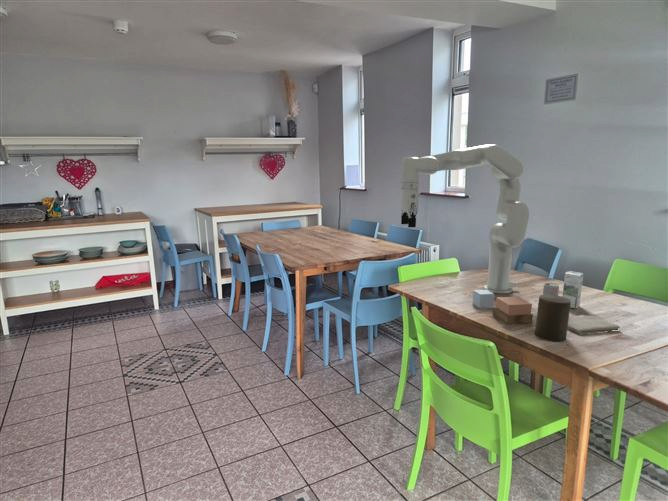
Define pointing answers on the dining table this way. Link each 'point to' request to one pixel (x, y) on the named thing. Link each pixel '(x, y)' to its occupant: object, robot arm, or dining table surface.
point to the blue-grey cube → (483, 298)
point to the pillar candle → (552, 317)
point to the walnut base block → (512, 317)
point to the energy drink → (551, 289)
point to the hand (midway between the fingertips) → (408, 225)
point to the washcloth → (589, 324)
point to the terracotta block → (513, 305)
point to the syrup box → (573, 287)
